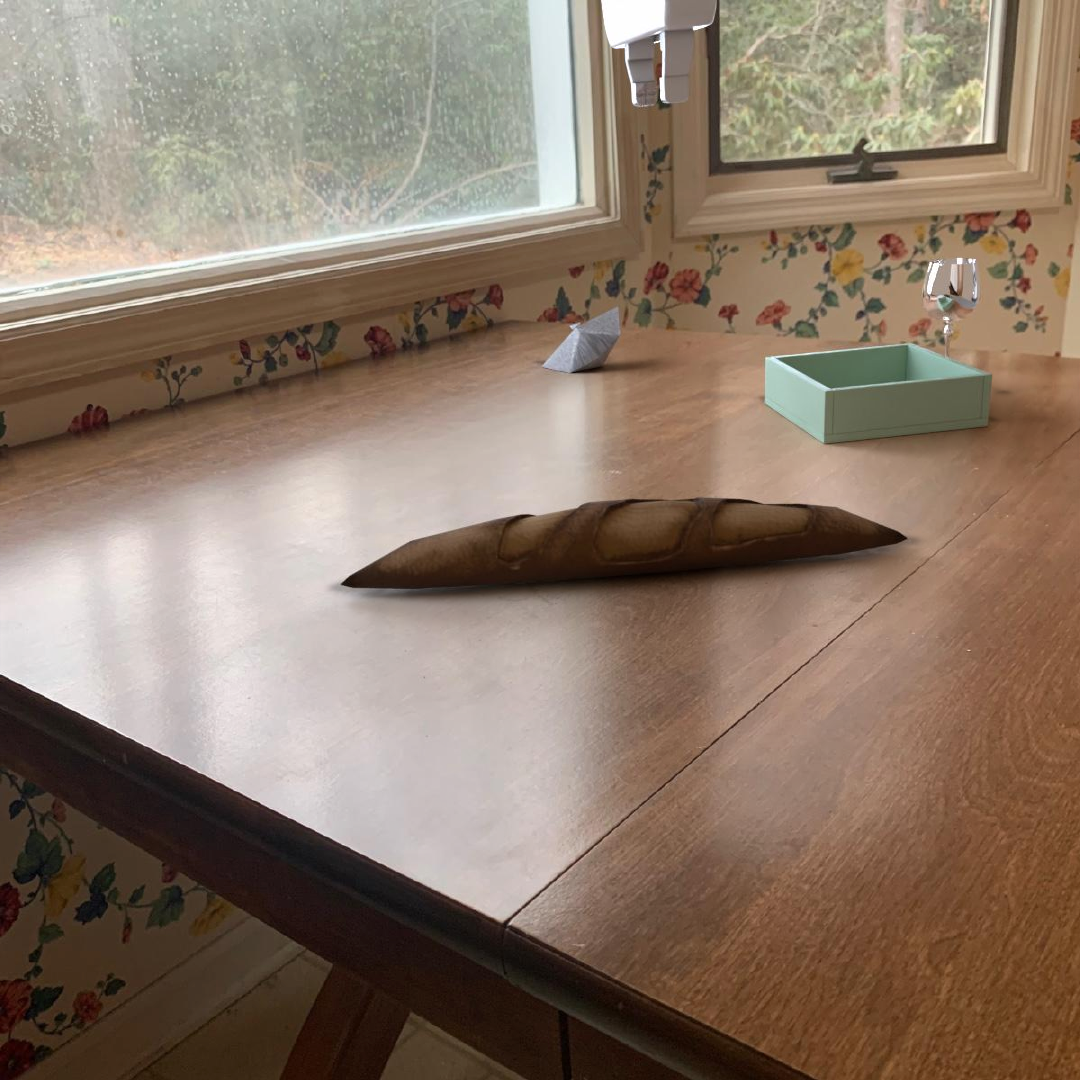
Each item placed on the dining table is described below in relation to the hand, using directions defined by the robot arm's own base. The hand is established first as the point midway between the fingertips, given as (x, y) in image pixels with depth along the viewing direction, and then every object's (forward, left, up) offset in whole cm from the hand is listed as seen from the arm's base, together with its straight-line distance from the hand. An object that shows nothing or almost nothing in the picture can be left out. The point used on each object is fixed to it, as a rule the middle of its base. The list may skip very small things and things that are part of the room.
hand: (659, 104), depth 83 cm
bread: (+9, +21, -29) cm, 37 cm away
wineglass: (-36, -22, -29) cm, 51 cm away
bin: (-22, -10, -29) cm, 38 cm away
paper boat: (-1, -44, -29) cm, 52 cm away
